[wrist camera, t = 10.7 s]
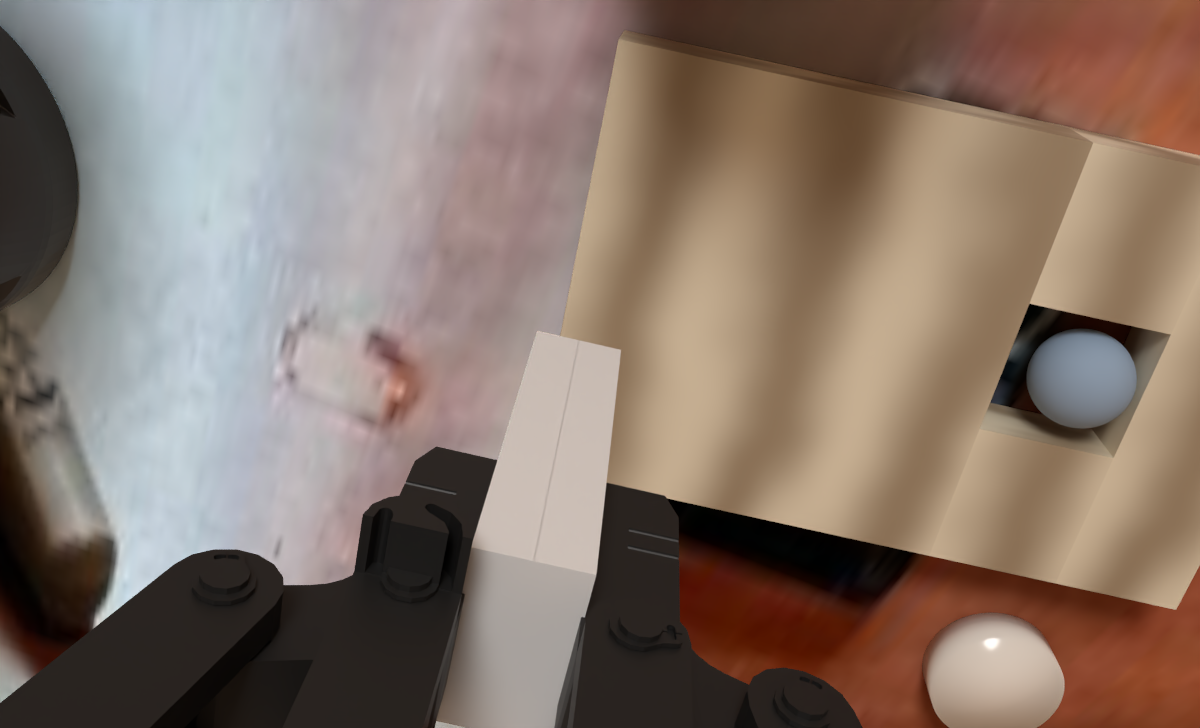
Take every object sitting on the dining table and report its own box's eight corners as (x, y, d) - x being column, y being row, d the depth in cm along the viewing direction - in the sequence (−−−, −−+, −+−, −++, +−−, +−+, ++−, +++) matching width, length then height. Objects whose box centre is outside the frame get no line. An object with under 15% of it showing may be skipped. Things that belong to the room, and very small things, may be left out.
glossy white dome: (921, 712, 52) (929, 742, 50) (922, 614, 49) (931, 642, 47) (1046, 707, 51) (1060, 737, 49) (1054, 608, 49) (1068, 636, 47)
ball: (992, 404, 43) (1077, 453, 40) (1027, 315, 41) (1117, 359, 38) (1048, 394, 45) (1132, 439, 42) (1083, 309, 43) (1173, 351, 40)
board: (543, 436, 47) (533, 469, 44) (624, 30, 40) (618, 39, 37) (1148, 568, 47) (1175, 609, 44) (1342, 186, 40) (1389, 207, 37)
